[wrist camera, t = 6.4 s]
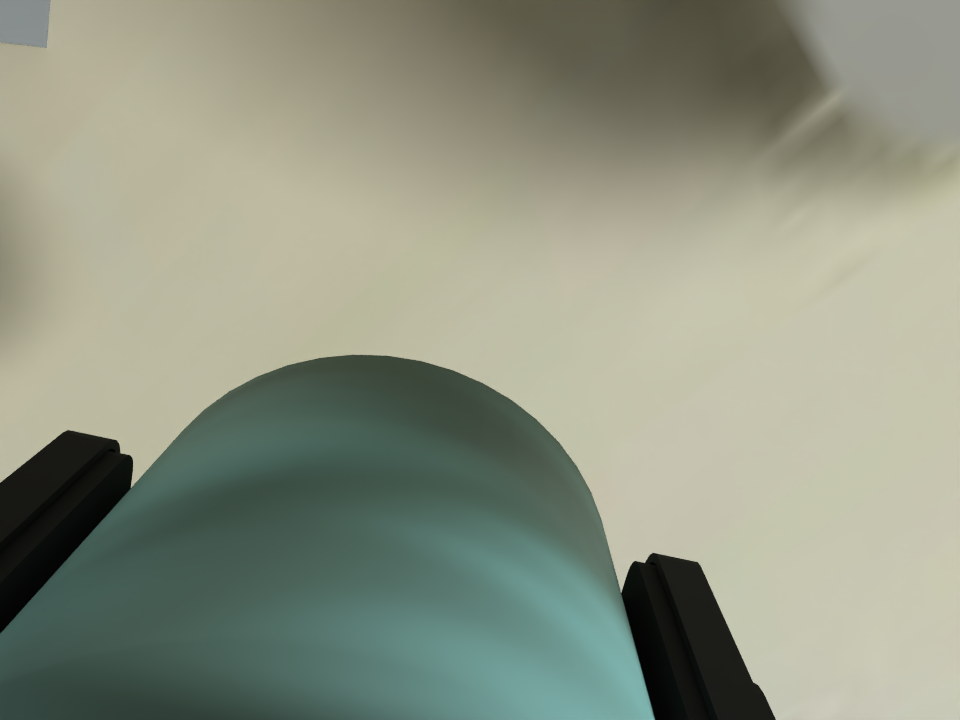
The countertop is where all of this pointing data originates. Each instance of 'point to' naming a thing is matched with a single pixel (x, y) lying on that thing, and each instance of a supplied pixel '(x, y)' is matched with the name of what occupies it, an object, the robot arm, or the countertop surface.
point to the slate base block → (24, 22)
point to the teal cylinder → (339, 568)
